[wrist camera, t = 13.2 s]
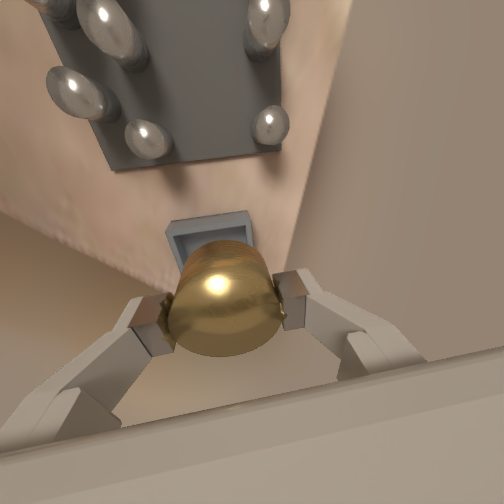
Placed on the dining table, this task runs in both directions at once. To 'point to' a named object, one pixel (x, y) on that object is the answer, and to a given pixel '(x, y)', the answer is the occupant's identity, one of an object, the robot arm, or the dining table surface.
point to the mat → (180, 80)
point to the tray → (207, 233)
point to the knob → (224, 301)
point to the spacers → (137, 59)
